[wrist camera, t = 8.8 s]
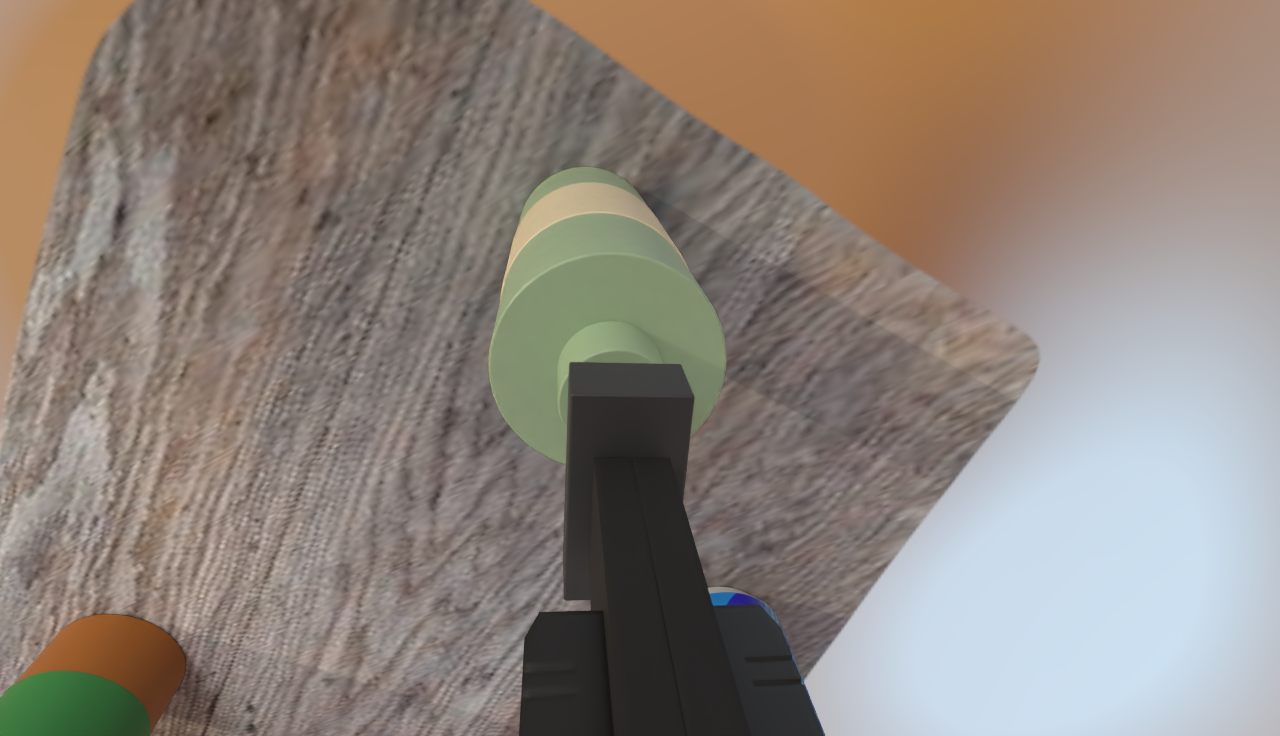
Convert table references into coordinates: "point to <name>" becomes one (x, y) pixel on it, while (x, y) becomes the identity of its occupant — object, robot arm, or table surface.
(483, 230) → the table surface
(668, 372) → the dark peg block
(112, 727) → the amber bottle
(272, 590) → the table surface
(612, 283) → the green bottle
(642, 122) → the table surface
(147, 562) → the table surface
